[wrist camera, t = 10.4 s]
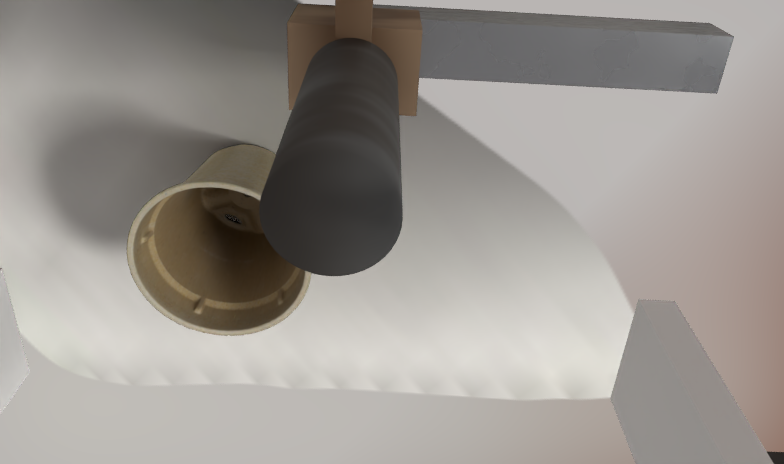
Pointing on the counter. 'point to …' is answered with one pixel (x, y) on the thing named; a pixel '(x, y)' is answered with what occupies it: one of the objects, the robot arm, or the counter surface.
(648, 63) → the rail
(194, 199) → the flower pot
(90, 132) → the counter surface
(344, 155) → the pusher
